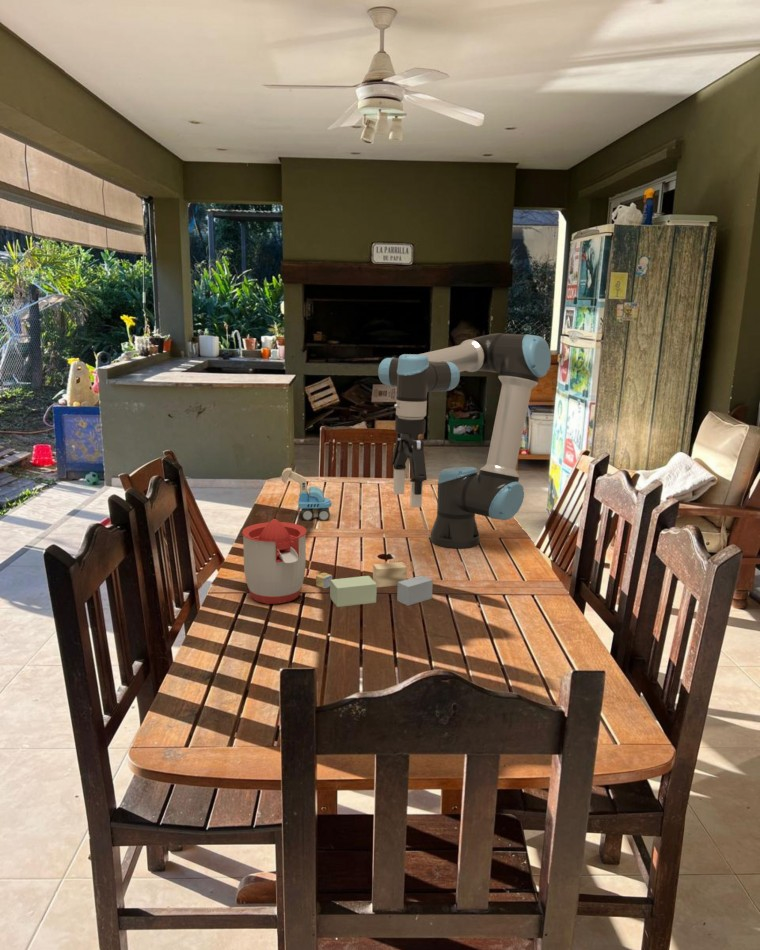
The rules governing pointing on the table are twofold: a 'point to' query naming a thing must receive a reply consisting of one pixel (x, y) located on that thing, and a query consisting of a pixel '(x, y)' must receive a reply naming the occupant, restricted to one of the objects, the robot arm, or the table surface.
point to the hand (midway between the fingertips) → (407, 500)
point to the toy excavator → (309, 498)
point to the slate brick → (414, 590)
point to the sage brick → (353, 591)
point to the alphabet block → (323, 580)
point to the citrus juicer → (274, 560)
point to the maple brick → (389, 574)
